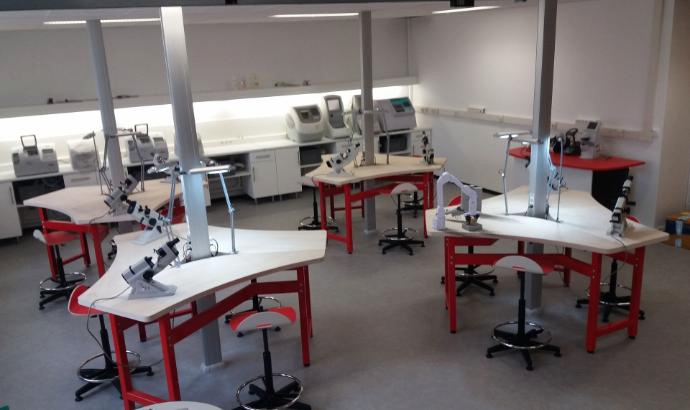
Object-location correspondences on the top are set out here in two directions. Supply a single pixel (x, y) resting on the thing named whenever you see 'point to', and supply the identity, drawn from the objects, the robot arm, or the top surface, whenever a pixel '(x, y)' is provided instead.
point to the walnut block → (472, 222)
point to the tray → (471, 227)
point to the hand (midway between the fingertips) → (472, 224)
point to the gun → (455, 212)
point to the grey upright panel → (466, 199)
